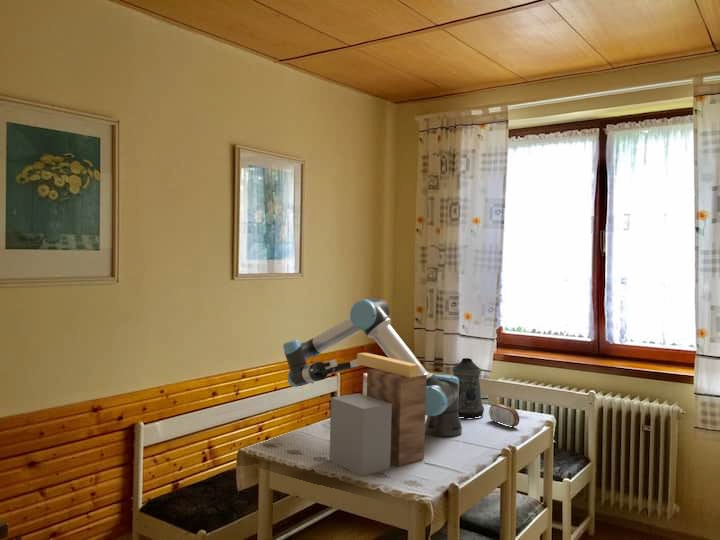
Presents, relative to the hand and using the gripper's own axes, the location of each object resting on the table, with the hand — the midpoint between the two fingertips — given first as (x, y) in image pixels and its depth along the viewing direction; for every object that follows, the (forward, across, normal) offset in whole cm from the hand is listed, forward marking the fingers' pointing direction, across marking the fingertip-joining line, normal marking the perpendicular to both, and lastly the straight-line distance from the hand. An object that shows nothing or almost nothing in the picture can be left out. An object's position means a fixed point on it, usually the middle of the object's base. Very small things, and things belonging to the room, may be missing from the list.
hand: (349, 361), depth 243 cm
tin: (+20, -64, -34) cm, 75 cm away
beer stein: (0, -65, -26) cm, 70 cm away
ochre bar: (+22, +3, -7) cm, 23 cm away
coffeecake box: (-16, -24, -23) cm, 37 cm away
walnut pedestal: (+16, +1, -37) cm, 41 cm away
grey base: (+15, +17, -38) cm, 44 cm away
